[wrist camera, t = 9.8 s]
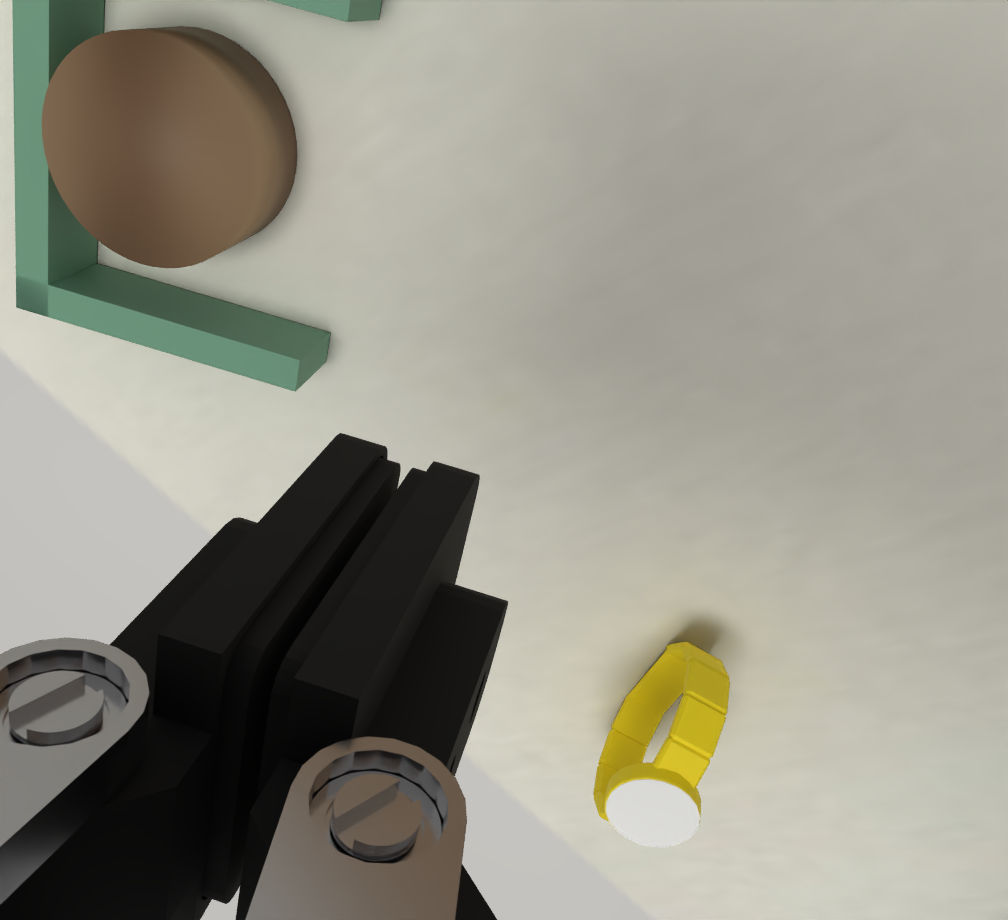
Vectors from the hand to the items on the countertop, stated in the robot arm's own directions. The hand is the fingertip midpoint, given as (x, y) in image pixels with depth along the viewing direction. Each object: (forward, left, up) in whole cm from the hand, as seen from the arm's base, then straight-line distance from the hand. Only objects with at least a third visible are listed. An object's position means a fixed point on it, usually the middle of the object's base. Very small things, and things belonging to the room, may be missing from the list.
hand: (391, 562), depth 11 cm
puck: (+11, 0, -18) cm, 21 cm away
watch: (-7, +14, -18) cm, 24 cm away
